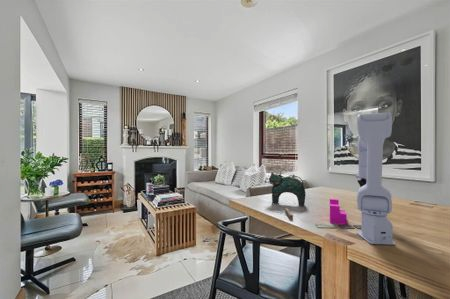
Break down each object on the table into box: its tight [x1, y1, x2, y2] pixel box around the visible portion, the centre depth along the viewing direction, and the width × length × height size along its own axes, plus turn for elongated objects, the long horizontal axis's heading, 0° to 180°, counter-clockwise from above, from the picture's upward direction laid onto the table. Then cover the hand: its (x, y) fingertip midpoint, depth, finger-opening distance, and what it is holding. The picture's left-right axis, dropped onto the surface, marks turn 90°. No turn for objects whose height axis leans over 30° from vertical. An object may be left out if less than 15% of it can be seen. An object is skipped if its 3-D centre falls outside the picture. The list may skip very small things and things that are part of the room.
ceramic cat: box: [268, 168, 306, 207], centre depth 126 cm, size 20×6×20 cm, turn 67°
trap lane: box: [284, 207, 362, 230], centre depth 98 cm, size 21×29×2 cm
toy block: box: [329, 198, 348, 225], centre depth 100 cm, size 15×6×8 cm, turn 155°
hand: (366, 196), depth 99 cm, fingers closed
